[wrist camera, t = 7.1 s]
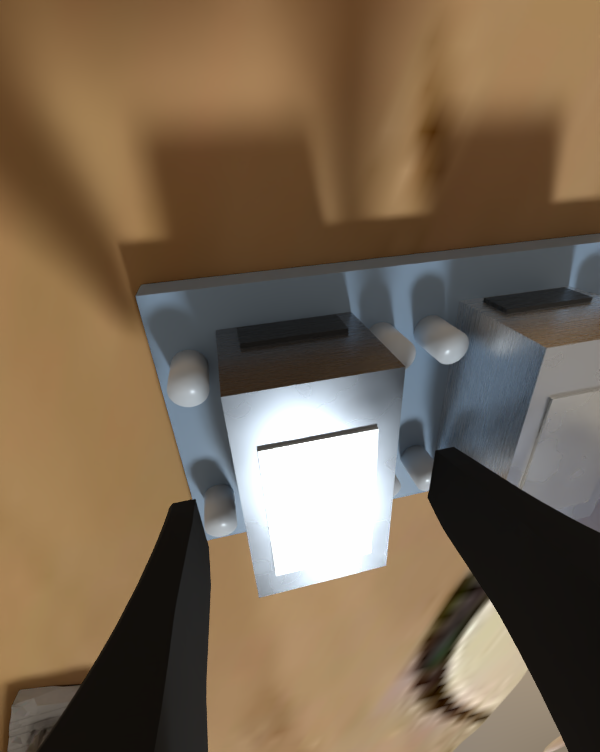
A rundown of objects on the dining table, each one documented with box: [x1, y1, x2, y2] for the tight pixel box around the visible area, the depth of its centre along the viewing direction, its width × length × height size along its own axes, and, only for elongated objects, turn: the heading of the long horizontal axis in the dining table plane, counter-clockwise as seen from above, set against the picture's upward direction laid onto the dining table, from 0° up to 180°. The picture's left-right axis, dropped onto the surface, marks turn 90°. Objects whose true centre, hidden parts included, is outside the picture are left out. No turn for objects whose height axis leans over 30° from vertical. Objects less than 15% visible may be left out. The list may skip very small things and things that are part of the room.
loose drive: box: [216, 312, 405, 598], centre depth 13 cm, size 4×8×4 cm, turn 3°
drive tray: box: [135, 233, 600, 540], centre depth 15 cm, size 17×11×3 cm, turn 93°
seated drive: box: [434, 286, 600, 520], centre depth 14 cm, size 4×8×4 cm, turn 3°
